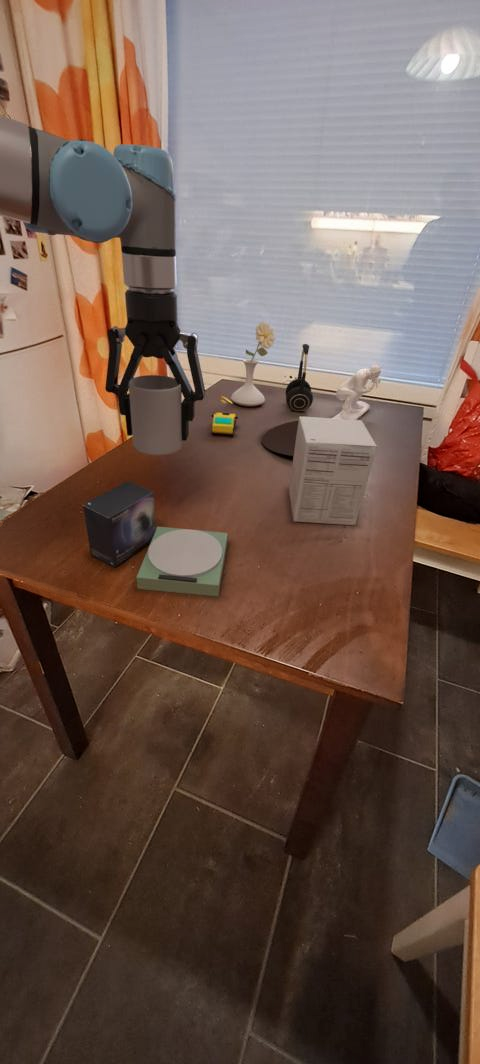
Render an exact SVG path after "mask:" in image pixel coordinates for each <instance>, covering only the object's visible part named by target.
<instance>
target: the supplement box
mask: <svg viewBox="0 0 480 1064" xmlns="http://www.w3.org/2000/svg"><path fill="white" fill-rule="evenodd" d="M298 420H299V422H298V429H297V436H296V443H295V450H294V456H292V457H293V458H292V465H291V473H290V480H289V487H288V495H289V501H290V508H291V515H292V521H293V522H297V523H312V524H328V525H345V526H346V525H347V526H356V524H357V521H358V518H359V513H360V510H361V506H362V502H363V498H364V495H365V491H366V488H367V485H368V484H367V483H368V481H369V478H370V473H371V469H372V466H373V462H374V458H375V455H376V452H377V448H378V445H377V444H376V442H375V441H374V439H373V436H372V435H371V434H370V431H369V430H368V428H367V427H366V425H365V423H364V422H363V420H361V419H357V420H349V419H334V418H333V417H316V416H302V415H300V416H299V417H298Z"/></svg>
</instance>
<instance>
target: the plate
mask: <svg viewBox="0 0 480 1064" xmlns="http://www.w3.org/2000/svg"><path fill="white" fill-rule="evenodd" d="M298 422H299V419H298V420H292V421H289V422H284V423H281V424H279V425H276V426H273V427H272V428H270V429H268V430H267V431H266V432H265V433H264V434H263V435H262V436H261V440H260V441H261V444H262V445H263V446H264V447H265V448H266V449H267V450H270V451H272V452H274V453H277V454H281V455H285V456H291V457H294V450H295V443H296V436H297V429H298Z"/></svg>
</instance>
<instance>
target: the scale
mask: <svg viewBox="0 0 480 1064" xmlns="http://www.w3.org/2000/svg"><path fill="white" fill-rule="evenodd" d="M155 529H156V531H155V534H154V536H153V539H152V541H151V543H150V544H149V546H148V548H147V551H146V553H145V555H144V558H143V560H142V563H141V565H140V568H139V570H138V572H137V574H136V577H135V579H136V586H137V587H136V588H137V589H138V590H146V591H156V592H165V593H167V592H168V593H176V594H186V595H195V596H196V595H197V596H207V597H217V598H219V594H220V590H221V583H222V577H223V572H224V566H225V561H226V560H225V559H226V554H227V548H228V540H229V539H228V538H229V533H228V532H221V531H209V530H200V529H190V528H189V529H187V528H178V527H167V526H157V527H156V528H155Z"/></svg>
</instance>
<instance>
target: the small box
mask: <svg viewBox="0 0 480 1064" xmlns="http://www.w3.org/2000/svg"><path fill="white" fill-rule="evenodd" d="M82 509H83V515H84V520H85V527H86V532H87V539H88V544H89V555H90V556H91V557H94V558H96V559H98V560H100V561H101V562H103V563H105V564H106V565H108V566H111V567H113V568H117V567H119V566H120V565H121V564H123V563H124V562H126V561H127V560H129V559H130V558H132V557H133V556H134V555H136V554H137V553H138V552H140V551H141V550H143V549H144V548H146V547H147V546H148V545H150V543H151V541H152V539H153V536H154V534H155V531H156V529H157V528H156V513H155V496H154V491H153V490H151V489H148V488H146V487H143V486H141V485H139V484H137V483H134V482H132V481H130V480H127V481H124V482H123V483H121V484H119V485H117V486H116V487H114V488H112V489H111V488H110V489H109V490H107V491H106V492H104V493H101V494H100V495H98V496H96V497H94V498H92V499H90V500H88V501H86V502H85V503H83V504H82Z"/></svg>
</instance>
